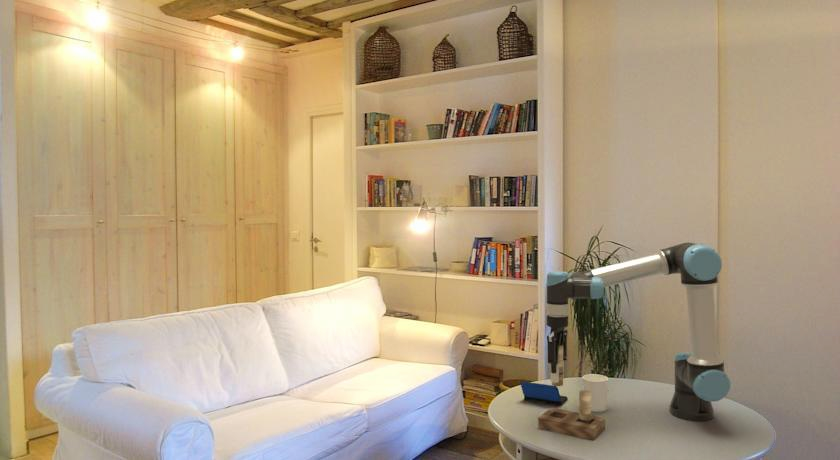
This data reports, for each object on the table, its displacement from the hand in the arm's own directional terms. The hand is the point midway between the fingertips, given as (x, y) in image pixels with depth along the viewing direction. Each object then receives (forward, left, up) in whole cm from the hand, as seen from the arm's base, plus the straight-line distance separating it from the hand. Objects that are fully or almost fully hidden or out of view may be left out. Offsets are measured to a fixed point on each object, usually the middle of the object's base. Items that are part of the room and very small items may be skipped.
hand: (557, 379), depth 215 cm
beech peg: (0, 0, -2) cm, 2 cm away
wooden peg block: (-5, 0, -17) cm, 17 cm away
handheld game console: (+15, -22, -17) cm, 32 cm away
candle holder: (-5, -25, -17) cm, 31 cm away
